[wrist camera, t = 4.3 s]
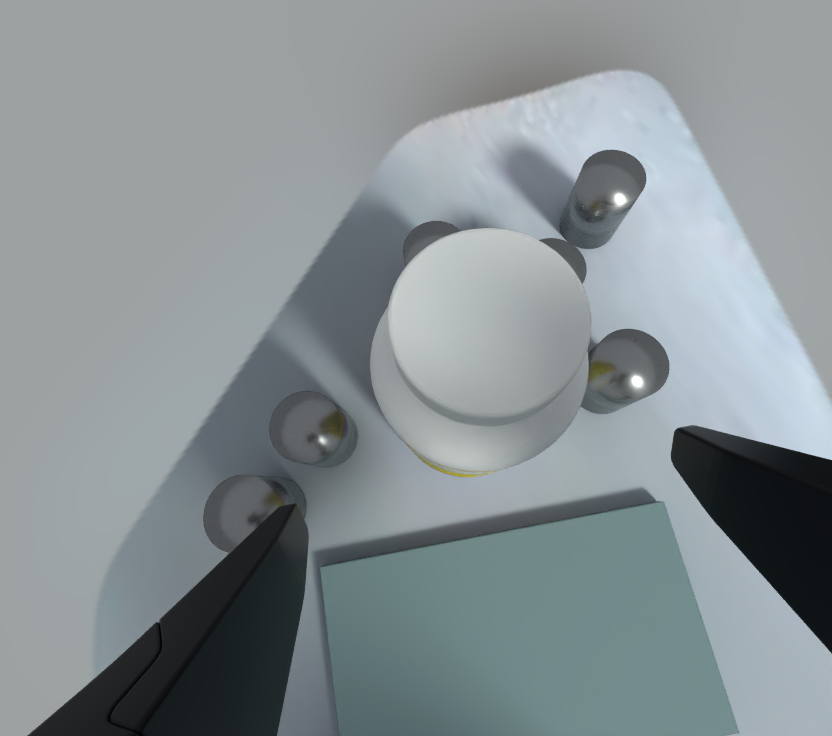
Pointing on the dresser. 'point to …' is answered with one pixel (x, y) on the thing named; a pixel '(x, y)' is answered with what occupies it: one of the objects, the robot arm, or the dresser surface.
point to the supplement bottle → (482, 351)
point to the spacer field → (314, 413)
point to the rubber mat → (526, 635)
